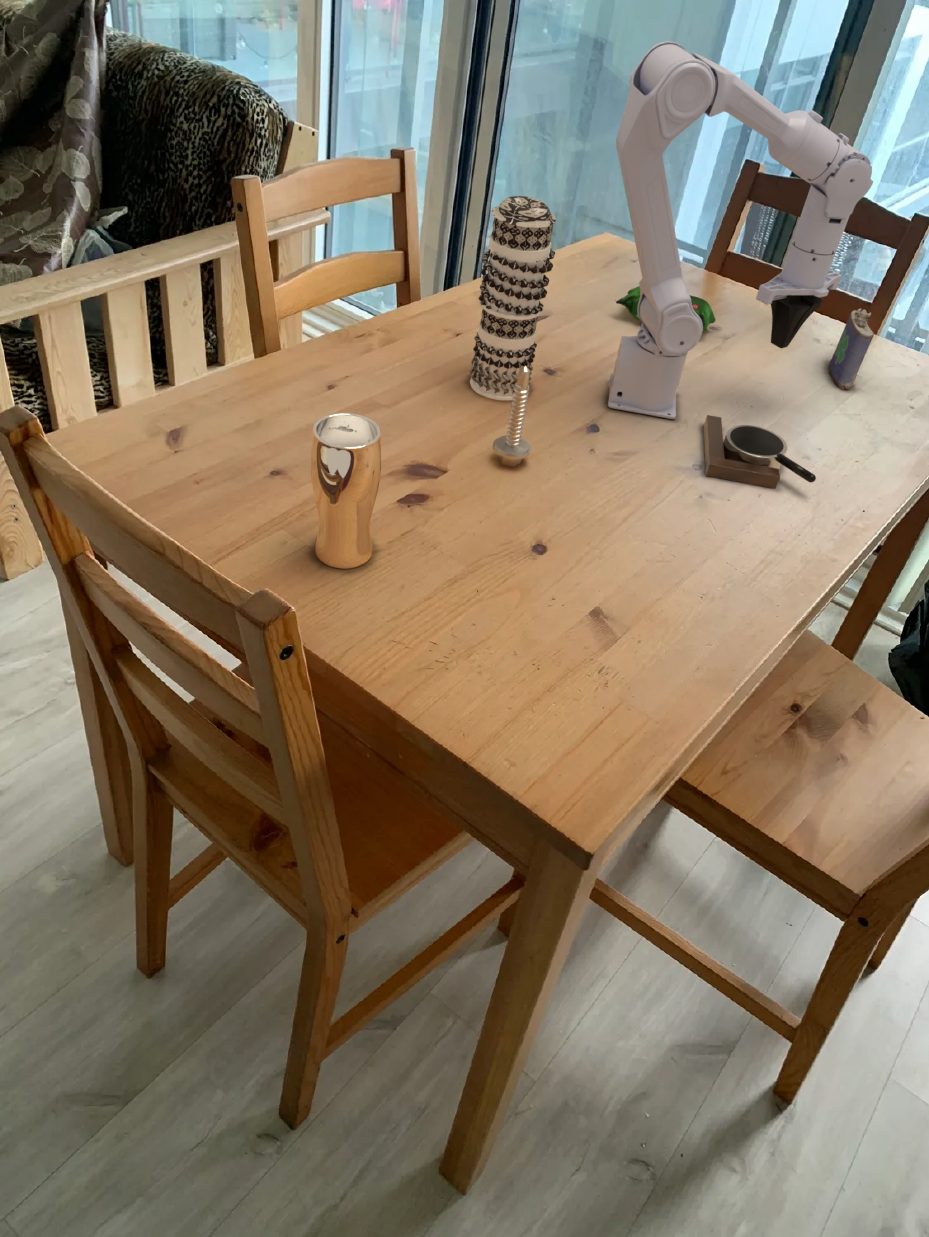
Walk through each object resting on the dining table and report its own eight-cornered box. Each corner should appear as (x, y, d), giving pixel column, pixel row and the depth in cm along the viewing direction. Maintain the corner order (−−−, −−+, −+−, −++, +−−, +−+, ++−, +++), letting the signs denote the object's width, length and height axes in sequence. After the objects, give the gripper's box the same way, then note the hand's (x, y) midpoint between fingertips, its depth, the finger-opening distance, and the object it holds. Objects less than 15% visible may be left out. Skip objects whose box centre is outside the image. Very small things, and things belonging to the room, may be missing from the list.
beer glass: (343, 523, 104) (346, 404, 94) (389, 552, 101) (397, 432, 91) (297, 550, 99) (295, 427, 89) (343, 580, 96) (347, 457, 86)
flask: (853, 391, 142) (881, 324, 135) (833, 388, 142) (860, 321, 135) (843, 364, 149) (869, 299, 142) (824, 361, 149) (850, 296, 142)
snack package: (624, 304, 158) (631, 274, 154) (713, 329, 154) (722, 299, 150) (611, 319, 153) (617, 288, 149) (703, 345, 149) (712, 314, 145)
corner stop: (705, 476, 119) (709, 464, 118) (703, 426, 129) (706, 414, 128) (775, 488, 119) (780, 477, 118) (767, 437, 129) (772, 426, 127)
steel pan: (707, 452, 124) (714, 431, 122) (747, 438, 128) (754, 418, 126) (786, 506, 116) (795, 484, 114) (826, 490, 120) (835, 468, 118)
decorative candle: (542, 398, 130) (576, 215, 113) (481, 405, 127) (507, 217, 110) (516, 368, 136) (544, 189, 119) (457, 373, 133) (478, 190, 116)
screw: (495, 447, 119) (532, 455, 118) (486, 466, 116) (524, 475, 115) (510, 353, 110) (549, 361, 110) (500, 370, 107) (541, 379, 106)
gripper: (801, 265, 114) (765, 367, 123) (873, 251, 121) (834, 348, 130) (758, 244, 118) (727, 344, 127) (830, 232, 125) (795, 327, 134)
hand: (778, 344), depth 129 cm, fingers closed
